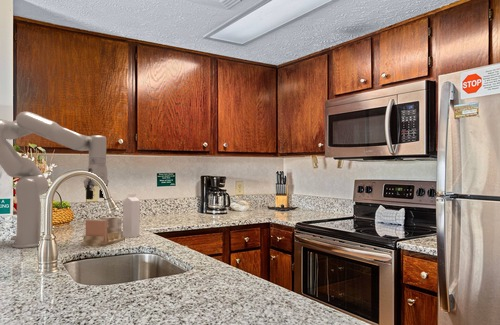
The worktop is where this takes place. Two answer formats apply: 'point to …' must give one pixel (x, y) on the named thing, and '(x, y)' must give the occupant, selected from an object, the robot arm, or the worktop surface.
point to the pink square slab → (97, 228)
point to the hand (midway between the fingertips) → (96, 198)
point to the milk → (131, 216)
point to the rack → (112, 233)
